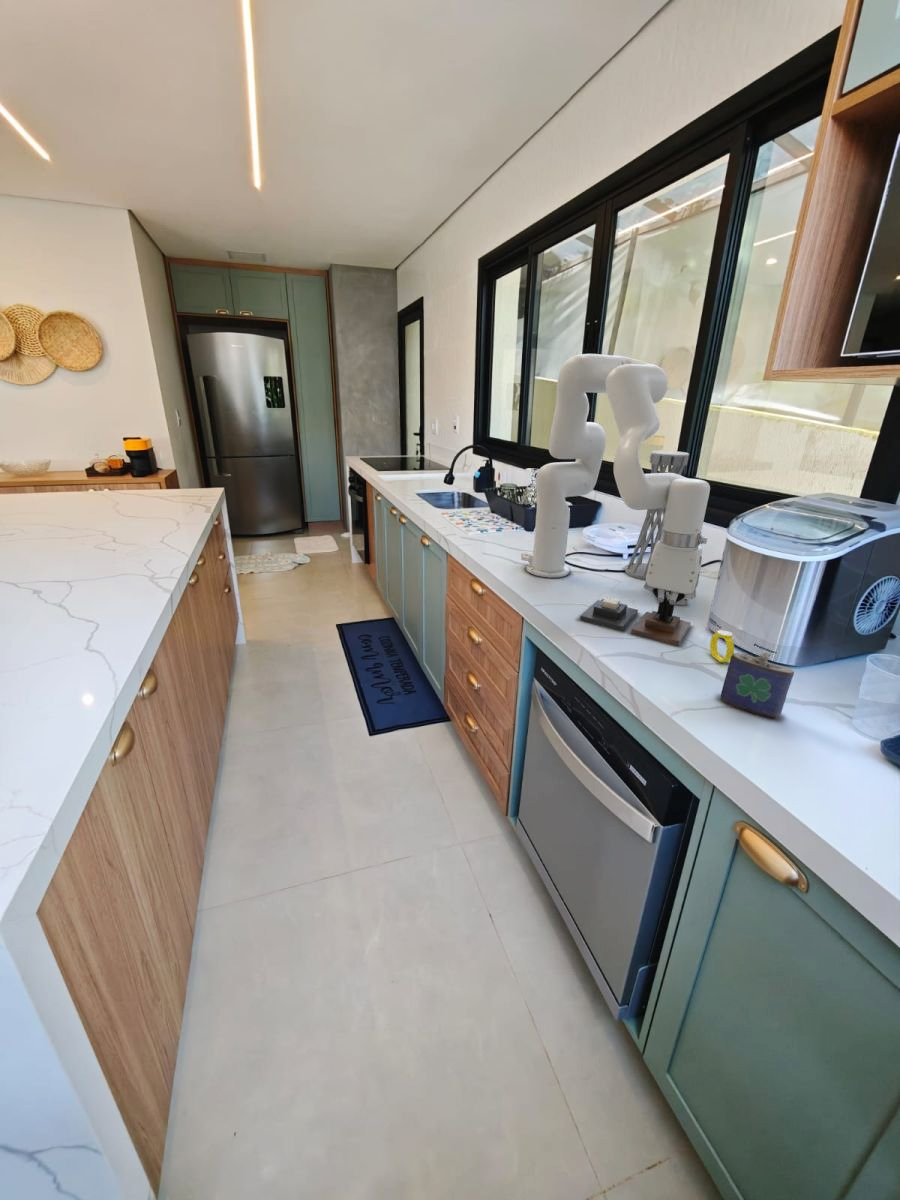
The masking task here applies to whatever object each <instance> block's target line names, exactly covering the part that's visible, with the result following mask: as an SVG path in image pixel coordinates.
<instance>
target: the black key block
mask: <svg viewBox="0 0 900 1200" xmlns="http://www.w3.org/2000/svg"><path fill="white" fill-rule="evenodd" d="M605 599H606V598H602V599H601V600H599V599H597V600H596V601H595V602H594V603H593V604H592V605H591V606H589V608H587V609H586V611H584V612H582V614H580V617H579V621H582V622H585V623H590V624H593V625H596V626H601V627H605V628H608V629H613V630H615V631H619V632H623V631H624V630H625V629H626V628H627V626H628V625H629V624H630V623H631V622H632V620H634V618H635V617H636V616H637V615H638V611H639V609H637V608H632V607H628V604H626V603H622V602H620V605H619V607H618V608H617V609H616V610H614V609H610V608H605V607H602V603H603V600H605Z"/></svg>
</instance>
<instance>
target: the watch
mask: <svg viewBox="0 0 900 1200" xmlns="http://www.w3.org/2000/svg"><path fill="white" fill-rule="evenodd" d="M733 636H734V635H733V633H732V632H731V631H728V630H724V629H718V630H717V631H716V632H714V634H713V635H712V636H711V638H710V641H709V650H710V654H711V656H712V658H714V659H716V660H717V661H718V662H719V663H729V662H730V659H731V656H732V655H733V654H734V653H735V644H734V640H733ZM719 638H721V639H724V641H725V645H726V652H725V656H724V657H722V656H721V655H720V654H719V651H718V642H719Z"/></svg>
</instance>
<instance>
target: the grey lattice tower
mask: <svg viewBox="0 0 900 1200" xmlns="http://www.w3.org/2000/svg"><path fill="white" fill-rule="evenodd" d="M689 457H690V453H688V452H685V451H676V450H651V451H650V456H649V464H650V474H652V473H666V470H667V473H675V474H678V475H681V476H682V474H683V471H684V468H685V466H687V465H688V461H689ZM665 511H666V508H658V509H646V514H645V517H644V520H643V523H642V527H641V530H640V532H639V534H638V538H637V542H636V543H635V547H634V549H633V552H632V555H631V558H630V560H629V562H628V564H626V565H625V566H624V572H625V574H626V575H628V576H630V577H633V578H636V579H639V580H645V581H646V576H647V571H648V567H649V563H650V560H651V556H652V553H653V550H654V548H655V545H656V543H657V541H659V540H660V538H661V533H662V527H663V522H664V516H665ZM655 515H656V516H655ZM656 528H657V535H656V537H655V536H654V535H655V531H656ZM649 529H650V531H649ZM648 531H649V533H648ZM654 537H655V538H654ZM649 544H650V555H649V558H648V561H647V562H643V558H644V555H645V552H646V550H647V548H648V546H649ZM639 550H640V551H639ZM638 552H639V555H638V557H637V554H638ZM636 557H637V559H636ZM635 560H636V561H635Z"/></svg>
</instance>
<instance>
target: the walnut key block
mask: <svg viewBox="0 0 900 1200" xmlns="http://www.w3.org/2000/svg"><path fill="white" fill-rule="evenodd" d="M657 612H658V611H656V610H652V611H651V612H649V611H646V612H644V614H643V615H642V616H641V617H640V619H639V620H638V621H637V622H636V624H635V625H634V626H633V627H632V628H631V633H630V634H631V635H635V636H637V637H641V638H645V639H650V640H653V641H657V642H661V643H664V644H668V645H672V646H675V647H679V646H680V644H681V643H682V641H683V639H684V637H686V634H687V632H688V630H689V629H690V627H691V623H692V622H691V621H688V620H683V619H681V617H680V616H676V615H672V621H671V623H667V622H662V621H658V620H654V618H655V617H656V616H657ZM669 617H670V616H669Z"/></svg>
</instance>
